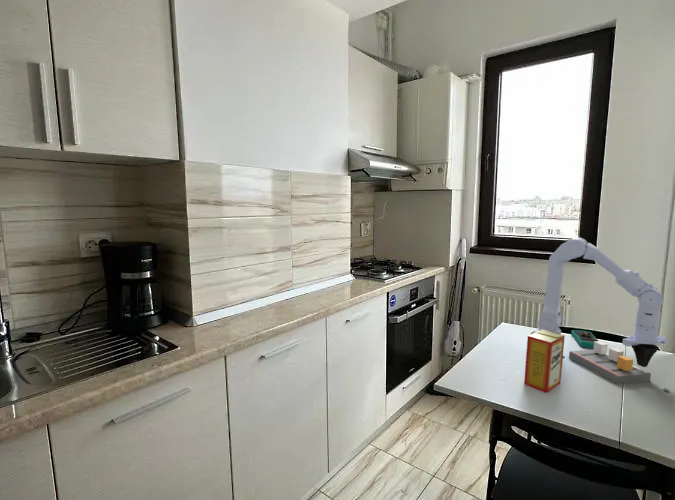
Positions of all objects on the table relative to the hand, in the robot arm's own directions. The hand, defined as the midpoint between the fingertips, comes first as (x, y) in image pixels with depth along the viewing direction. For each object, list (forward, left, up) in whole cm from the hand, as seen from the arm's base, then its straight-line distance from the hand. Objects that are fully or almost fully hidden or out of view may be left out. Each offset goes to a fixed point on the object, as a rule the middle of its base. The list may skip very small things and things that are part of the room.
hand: (641, 365), depth 116 cm
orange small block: (-7, 0, -1) cm, 7 cm away
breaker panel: (-7, +6, -3) cm, 10 cm away
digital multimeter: (+6, +28, -4) cm, 29 cm away
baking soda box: (-36, 0, -4) cm, 36 cm away
